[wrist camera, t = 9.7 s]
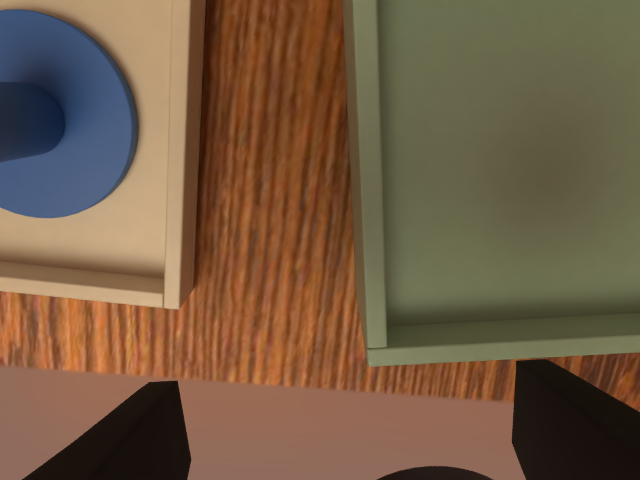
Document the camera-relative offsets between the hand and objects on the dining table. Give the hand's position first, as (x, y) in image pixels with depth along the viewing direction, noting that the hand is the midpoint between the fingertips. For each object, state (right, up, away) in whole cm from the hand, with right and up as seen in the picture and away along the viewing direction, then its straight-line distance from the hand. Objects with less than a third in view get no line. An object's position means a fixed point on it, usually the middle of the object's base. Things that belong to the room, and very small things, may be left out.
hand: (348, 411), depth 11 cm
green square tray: (+6, +7, +8) cm, 12 cm away
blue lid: (-11, +8, +7) cm, 15 cm away
